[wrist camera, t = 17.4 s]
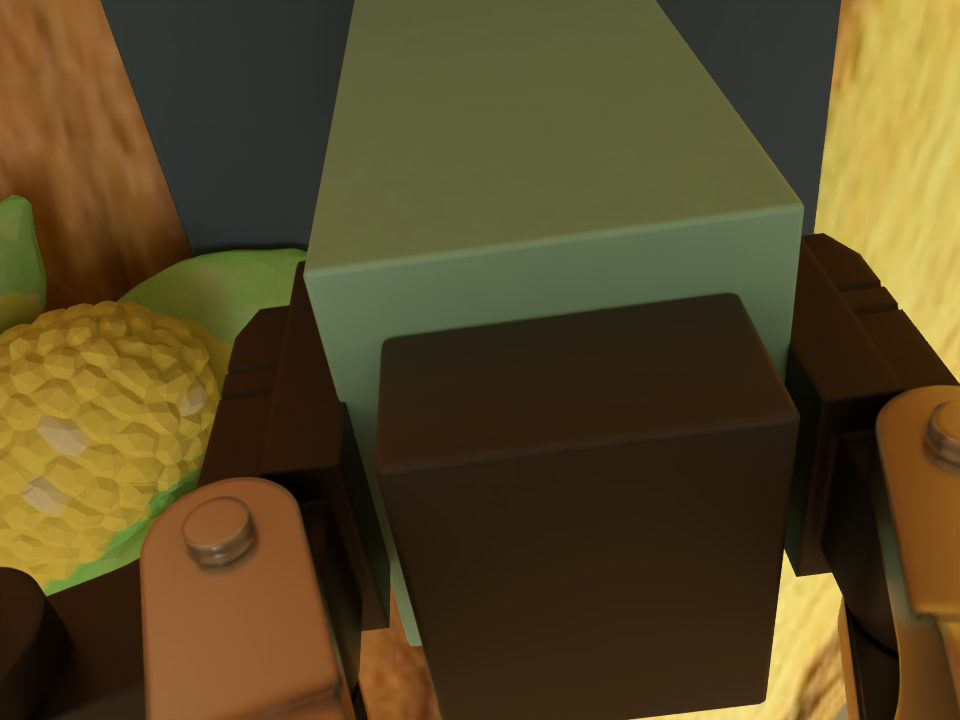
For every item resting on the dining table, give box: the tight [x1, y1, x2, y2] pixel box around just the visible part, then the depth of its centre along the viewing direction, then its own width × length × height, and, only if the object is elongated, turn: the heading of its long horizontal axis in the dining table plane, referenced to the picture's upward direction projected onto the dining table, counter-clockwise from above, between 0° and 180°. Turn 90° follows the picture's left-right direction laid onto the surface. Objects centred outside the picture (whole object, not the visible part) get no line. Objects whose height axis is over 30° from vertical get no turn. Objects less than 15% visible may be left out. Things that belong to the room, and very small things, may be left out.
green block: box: [303, 0, 804, 720], centre depth 12 cm, size 12×4×5 cm
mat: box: [100, 0, 841, 257], centre depth 18 cm, size 14×14×1 cm
